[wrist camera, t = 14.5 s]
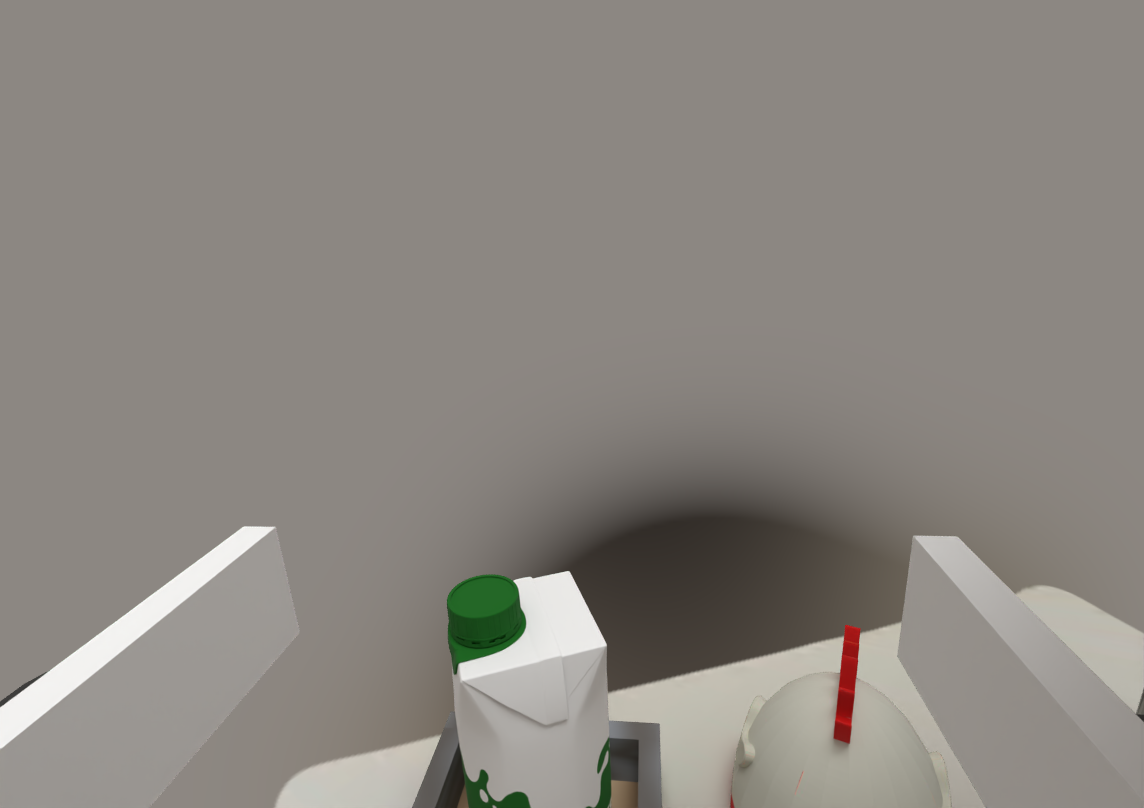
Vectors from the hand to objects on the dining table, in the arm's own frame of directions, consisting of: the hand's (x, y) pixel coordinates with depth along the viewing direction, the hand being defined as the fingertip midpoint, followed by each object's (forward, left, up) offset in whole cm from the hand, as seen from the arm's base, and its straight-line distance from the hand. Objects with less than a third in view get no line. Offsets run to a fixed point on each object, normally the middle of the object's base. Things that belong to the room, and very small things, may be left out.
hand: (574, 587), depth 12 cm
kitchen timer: (-14, -22, -34) cm, 43 cm away
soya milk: (+6, -17, -32) cm, 37 cm away
